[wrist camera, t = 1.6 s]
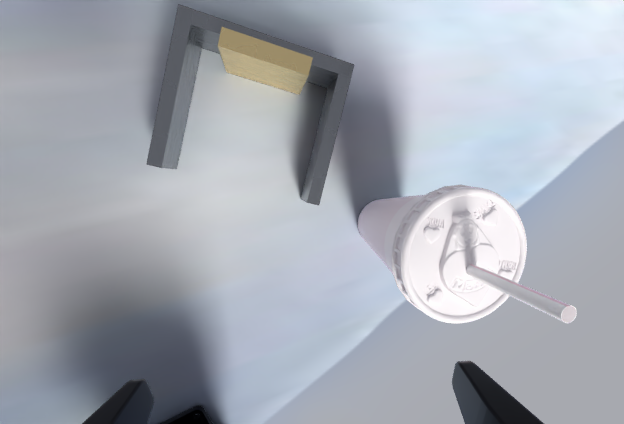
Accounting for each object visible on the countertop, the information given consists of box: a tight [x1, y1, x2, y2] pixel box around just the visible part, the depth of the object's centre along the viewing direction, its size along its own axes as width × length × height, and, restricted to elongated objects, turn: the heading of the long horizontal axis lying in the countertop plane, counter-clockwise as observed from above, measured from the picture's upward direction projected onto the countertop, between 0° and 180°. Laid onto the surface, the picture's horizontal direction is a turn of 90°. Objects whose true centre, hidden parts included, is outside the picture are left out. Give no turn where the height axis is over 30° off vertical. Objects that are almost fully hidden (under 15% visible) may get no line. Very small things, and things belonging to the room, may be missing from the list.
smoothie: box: [358, 185, 576, 323], centre depth 16 cm, size 6×6×14 cm
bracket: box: [147, 4, 354, 205], centre depth 18 cm, size 9×10×4 cm
